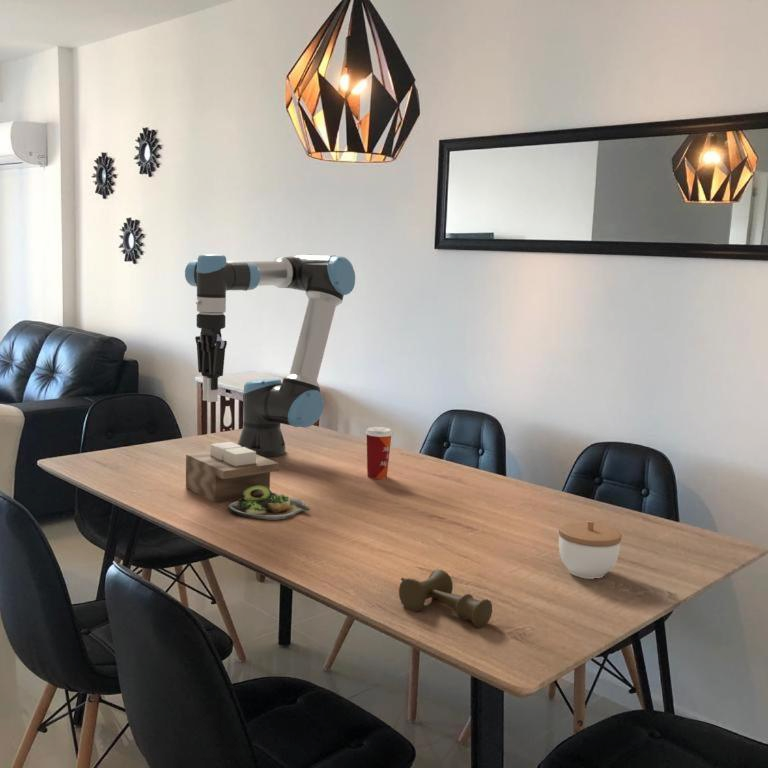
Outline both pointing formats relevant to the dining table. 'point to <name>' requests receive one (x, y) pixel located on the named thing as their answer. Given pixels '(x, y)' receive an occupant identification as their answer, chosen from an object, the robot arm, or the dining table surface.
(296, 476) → the dining table surface
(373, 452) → the paper cup
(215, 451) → the tile
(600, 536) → the lidded bowl
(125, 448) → the dining table surface
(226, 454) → the tile
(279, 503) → the salad plate
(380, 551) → the dining table surface
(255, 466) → the block
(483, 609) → the kendama
